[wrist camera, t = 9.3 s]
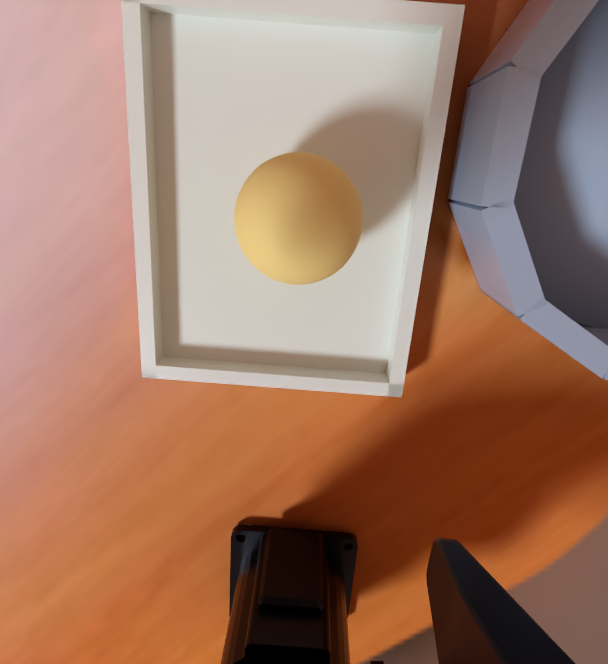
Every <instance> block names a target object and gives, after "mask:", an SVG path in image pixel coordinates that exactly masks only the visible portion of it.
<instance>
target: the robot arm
mask: <svg viewBox="0 0 608 664" xmlns="http://www.w3.org/2000/svg"><path fill="white" fill-rule="evenodd" d="M240 534H241V535H244V536H239V535H240ZM345 543H350V544H345ZM357 548H358V547H357V538H356V537H355V536H354V535H353V534H350V533H342V532H329V531H316V530H303V529H290V528H277V527H264V526H251V525H238V526H236V527H235V528H234V529H233V532H232V536H231V567H230V614H229V615H230V619H229V624H228V629H227V635H226V640H225V645H224V650H223V655H222V660H221V664H350V655H349V640H348V625H347V617H348V611H349V604H350V597H351V590H352V583H353V576H354V569H355V562H356V555H357ZM427 587H428V594H429V600H430V607H431V614H432V620H433V627H434V633H435V640H436V647H437V653H438V660H439V664H575V663H574V662H573V661H572V659H571V658H570V657H569V656H568V655H567V654H566V653H565V652H564V651H563V650H562V649H561V648H560V647H559V646H558V645H557V644H556V643H555V642H554V641H553V640H552V639H551V638H550V637H549V636H548V634H547V633H546V632H545V631H544V630H543V629H542V628H541V627H540V626H539V625H538V624H537V623H536V622H535V621H534V620H533V619H532V618H531V617H530V616H529V615H528V614H527V613H526V611H525V610H524V609H523V608H522V607H521V606H520V605H519V604H518V603H517V602H516V601H515V600H514V599H513V598H512V597H511V596H510V595H509V594H508V593H507V592H506V590H505V589H504V588H503V587H502V586H501V585H500V584H499V583H498V582H497V581H496V580H495V579H494V578H493V577H492V576H491V575H490V574H489V573H488V572H487V571H486V570H485V569H484V567H483V566H482V565H481V564H480V563H479V562H478V561H477V560H476V559H475V558H474V557H473V556H472V555H471V554H470V553H469V552H468V551H467V550H466V549H465V548H464V547H463V546H462V544H461V543H460V542H458V541H457V540H454V539H444V538H437V539H435V540H434V542H433V545H432V549H431V554H430V558H429V563H428V568H427ZM370 664H384V663H383V661H370Z"/></svg>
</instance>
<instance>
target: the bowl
mask: <svg viewBox="0 0 608 664" xmlns="http://www.w3.org/2000/svg"><path fill="white" fill-rule="evenodd" d="M469 85H471V86H470V87H468V88H467V91H466V97H465V103H464V109H463V114H462V120H461V126H460V132H459V138H458V143H457V149H456V155H455V161H454V167H453V172H452V178H451V184H450V190H449V196H448V199H451V200H452V201H450V202H448V203H449V206H450V208H451V211H452V214H453V217H454V219H455V222H456V225H457V228H458V230H459V233H460V236H461V238H462V241H463V244H464V247H465V249H466V252H467V255H468V257H469V260H470V263H471V266H472V268H473V271H474V274H475V276H476V279H477V282H478V285H479V287H480V289H481V290H482V292H483V293H485V294H486V295H488V296H489V297H490V298H492V299H493V300H494V301H496V302H497V303H498V304H500V305H501V306H502V307H504V308H505V309H506V310H508V311H509V312H510V313H512V314H513V315H514V316H516V317H517V318H518V319H520V320H521V321H523V322H524V323H525V324H527V325H528V326H529V327H531V328H532V329H534V330H535V331H536V332H538V333H539V334H541V335H542V336H543V337H545V338H546V339H547V340H549V341H550V342H552V343H553V344H554V345H556V346H557V347H559V348H560V349H561V350H563V351H564V352H566V353H567V354H568V355H570V356H571V357H572V358H574V359H575V360H577V361H578V362H579V363H581V364H582V365H584V366H585V367H586V368H588V369H589V370H590V371H592V372H593V373H595V374H596V375H597V376H599V377H600V378H603V379H605V380H608V0H528V2H527V3H526V4H525V6H524V7H523V9H522V10H521V11H520V13H519V14H518V16H517V17H516V19H515V20H514V21H513V23H512V24H511V26H510V27H509V28H508V30H507V31H506V33H505V34H504V35H503V37H502V38H501V40H500V41H499V42H498V44H497V45H496V47H495V48H494V49H493V51H492V52H491V54H490V55H489V56H488V58H487V59H486V61H485V62H484V63H483V65H482V66H481V68H480V69H479V70H478V72H477V73H476V75H475V76H474V77H473V79H472V80H471V82H470V83H469Z"/></svg>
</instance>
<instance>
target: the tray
mask: <svg viewBox="0 0 608 664" xmlns="http://www.w3.org/2000/svg"><path fill="white" fill-rule="evenodd" d="M121 10H122V28H123V46H124V64H125V82H126V100H127V118H128V136H129V153H130V171H131V189H132V207H133V225H134V243H135V261H136V279H137V297H138V315H139V333H140V350H141V368H142V377H143V378H156V379H169V380H182V381H196V382H209V383H222V384H235V385H248V386H261V387H274V388H287V389H300V390H313V391H326V392H339V393H352V394H365V395H378V396H392V397H402V392H403V386H404V380H405V374H406V367H407V361H408V355H409V349H410V343H411V337H412V330H413V324H414V318H415V312H416V306H417V300H418V294H419V287H420V281H421V275H422V269H423V263H424V257H425V250H426V244H427V238H428V232H429V226H430V220H431V213H432V207H433V201H434V195H435V189H436V183H437V177H438V170H439V164H440V158H441V152H442V146H443V140H444V133H445V127H446V121H447V115H448V109H449V103H450V97H451V90H452V84H453V78H454V72H455V66H456V60H457V53H458V47H459V41H460V35H461V29H462V23H463V16H464V10H465V5H459V4H446V3H433V2H419V1H406V0H121ZM292 152H305V153H311V154H315V155H318V156H322V157H324V158H326V159H328V160H330V161H331V162H333V163H334V164H336V165H337V166H338V167H340V168H341V169H342V170H343V171H344V172H345V173H346V174H347V176H348V177H349V178H350V179H351V181H352V183H353V184H354V186H355V188H356V190H357V192H358V194H359V198H360V201H361V205H362V211H363V226H362V232H361V236H360V240H359V243H358V245H357V247H356V249H355V251H354V253H353V255H352V256H351V258H350V259H349V260H348V262H347V263H346V264H345V265H344V266H343V267H342V268H341V269H340V270H339V271H337V272H336V273H335V274H333V275H332V276H330V277H328V278H326V279H324V280H321V281H318V282H315V283H311V284H305V285H292V284H287V283H282V282H279V281H276V280H273V279H271V278H269V277H267V276H266V275H264V274H263V273H261V272H260V271H259V270H257V269H256V268H255V267H254V266H253V265H252V264H251V263H250V261H249V260H248V259H247V257H246V256H245V254H244V253H243V251H242V249H241V247H240V245H239V243H238V240H237V236H236V232H235V227H234V211H235V205H236V200H237V197H238V194H239V192H240V190H241V188H242V186H243V184H244V182H245V181H246V179H247V178H248V176H249V175H250V174H251V173H252V172H253V171H254V170H255V169H256V168H257V167H258V166H259V165H261V164H262V163H264V162H265V161H267V160H269V159H271V158H273V157H275V156H278V155H282V154H285V153H292Z"/></svg>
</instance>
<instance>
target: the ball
mask: <svg viewBox="0 0 608 664" xmlns="http://www.w3.org/2000/svg"><path fill="white" fill-rule="evenodd" d="M362 226H363V211H362V205H361V201H360V198H359V194H358V192H357V190H356V188H355V186H354V184H353V183H352V181H351V179H350V178H349V177H348V176H347V174H346V173H345V172H344V171H343V170H342V169H341V168H340V167H338V166H337V165H336V164H334V163H333V162H331V161H330V160H328V159H326V158H324V157H322V156H318V155H315V154H311V153H305V152H292V153H285V154H282V155H278V156H275V157H273V158H271V159H269V160H267V161H265V162H264V163H262V164H261V165H259V166H258V167H257V168H256V169H255V170H254V171H253V172H252V173H251V174H250V175H249V176H248V178H247V179H246V181H245V182H244V184H243V186H242V188H241V190H240V192H239V194H238V197H237V200H236V205H235V211H234V227H235V232H236V236H237V240H238V243H239V245H240V247H241V249H242V251H243V253H244V254H245V256H246V257H247V259H248V260H249V261H250V263H251V264H252V265H253V266H254V267H255V268H256V269H257V270H259V271H260V272H261V273H263V274H264V275H266V276H267V277H269V278H271V279H273V280H276V281H279V282H282V283H287V284H292V285H305V284H311V283H315V282H318V281H321V280H324V279H326V278H328V277H330V276H332V275H333V274H335V273H336V272H337V271H339V270H340V269H341V268H342V267H343V266H344V265H345V264H346V263H347V262H348V260H349V259H350V258H351V256H352V255H353V253H354V251H355V249H356V247H357V245H358V243H359V240H360V236H361V232H362Z"/></svg>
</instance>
